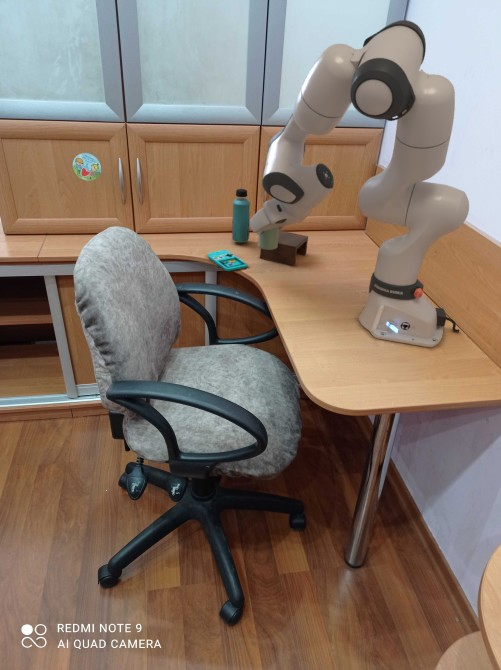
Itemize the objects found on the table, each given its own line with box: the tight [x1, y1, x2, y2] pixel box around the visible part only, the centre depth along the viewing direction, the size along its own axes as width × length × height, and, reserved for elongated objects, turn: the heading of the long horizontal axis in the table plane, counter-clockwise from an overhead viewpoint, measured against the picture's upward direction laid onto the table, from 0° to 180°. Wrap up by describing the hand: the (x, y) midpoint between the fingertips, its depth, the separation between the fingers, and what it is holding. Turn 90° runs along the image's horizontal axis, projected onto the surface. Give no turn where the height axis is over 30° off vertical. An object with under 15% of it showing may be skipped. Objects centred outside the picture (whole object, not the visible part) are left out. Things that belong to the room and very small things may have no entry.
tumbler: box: [257, 227, 279, 250], centre depth 147 cm, size 6×6×9 cm
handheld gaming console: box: [207, 249, 248, 272], centre depth 164 cm, size 8×1×15 cm
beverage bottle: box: [231, 188, 251, 243], centre depth 174 cm, size 6×7×20 cm
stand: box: [259, 229, 309, 267], centre depth 168 cm, size 13×12×7 cm
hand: (267, 230), depth 147 cm, fingers closed on tumbler, 6 cm apart
